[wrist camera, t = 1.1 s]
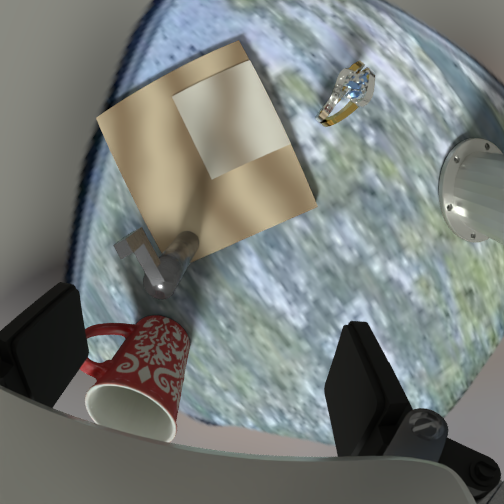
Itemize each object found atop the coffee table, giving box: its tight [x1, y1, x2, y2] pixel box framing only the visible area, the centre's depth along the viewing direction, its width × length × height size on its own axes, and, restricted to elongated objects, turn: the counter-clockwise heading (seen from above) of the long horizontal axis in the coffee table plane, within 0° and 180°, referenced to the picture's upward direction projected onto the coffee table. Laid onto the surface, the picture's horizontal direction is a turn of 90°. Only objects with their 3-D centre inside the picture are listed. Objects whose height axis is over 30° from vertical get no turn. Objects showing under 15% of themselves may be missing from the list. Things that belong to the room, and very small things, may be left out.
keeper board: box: [96, 40, 318, 263], centre depth 28 cm, size 16×18×2 cm
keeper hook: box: [114, 227, 199, 299], centre depth 24 cm, size 2×5×12 cm, turn 25°
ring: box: [315, 61, 375, 127], centre depth 24 cm, size 7×3×8 cm, turn 139°
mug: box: [80, 315, 190, 442], centre depth 29 cm, size 13×9×14 cm
